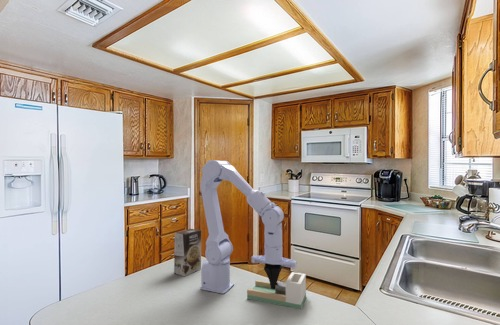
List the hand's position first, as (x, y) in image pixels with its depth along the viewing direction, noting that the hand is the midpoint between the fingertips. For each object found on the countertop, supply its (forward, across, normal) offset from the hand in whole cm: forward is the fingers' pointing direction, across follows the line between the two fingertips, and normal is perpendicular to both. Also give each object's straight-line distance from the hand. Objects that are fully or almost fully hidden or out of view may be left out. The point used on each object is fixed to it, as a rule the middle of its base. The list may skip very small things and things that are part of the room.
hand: (273, 287), depth 84 cm
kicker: (+1, -3, 0) cm, 3 cm away
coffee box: (+3, +38, -8) cm, 39 cm away
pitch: (+3, -1, 0) cm, 3 cm away
